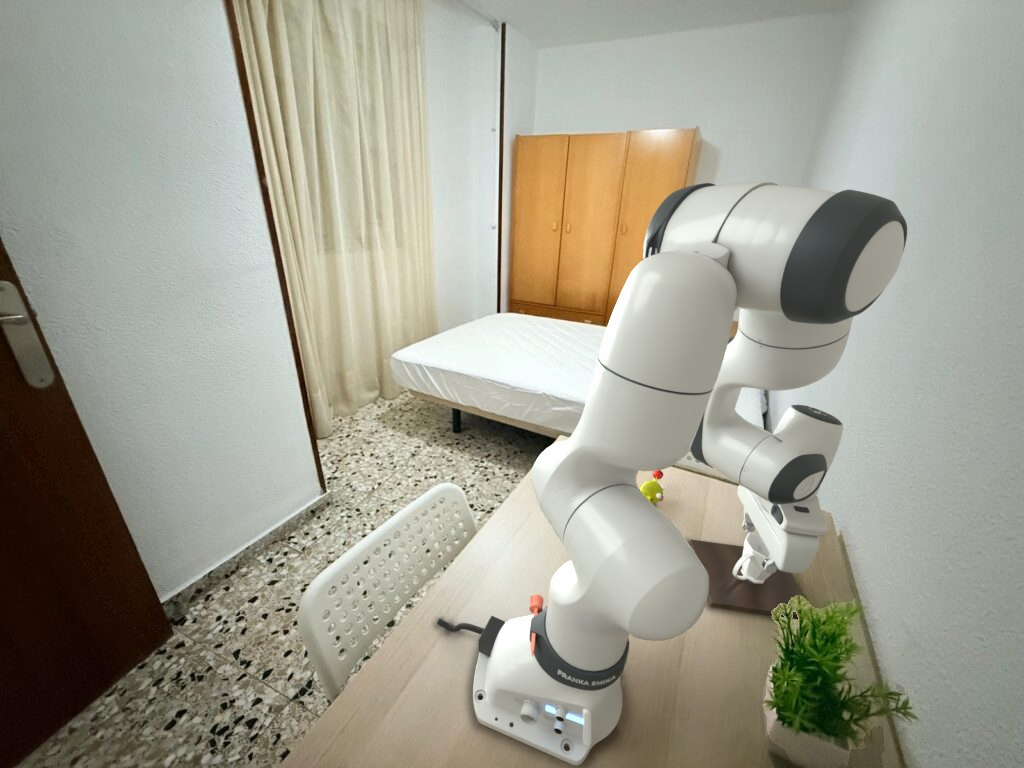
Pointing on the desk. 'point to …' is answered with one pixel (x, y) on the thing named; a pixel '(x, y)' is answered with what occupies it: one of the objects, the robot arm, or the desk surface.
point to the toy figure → (653, 488)
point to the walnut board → (741, 581)
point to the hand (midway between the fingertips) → (756, 548)
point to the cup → (753, 559)
